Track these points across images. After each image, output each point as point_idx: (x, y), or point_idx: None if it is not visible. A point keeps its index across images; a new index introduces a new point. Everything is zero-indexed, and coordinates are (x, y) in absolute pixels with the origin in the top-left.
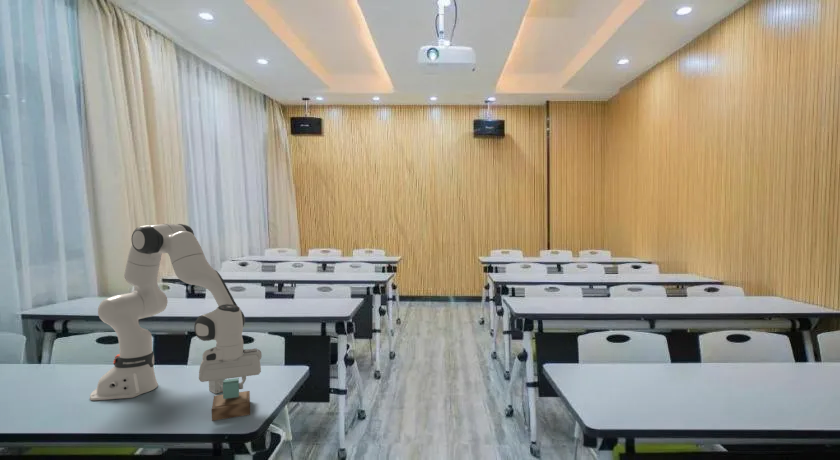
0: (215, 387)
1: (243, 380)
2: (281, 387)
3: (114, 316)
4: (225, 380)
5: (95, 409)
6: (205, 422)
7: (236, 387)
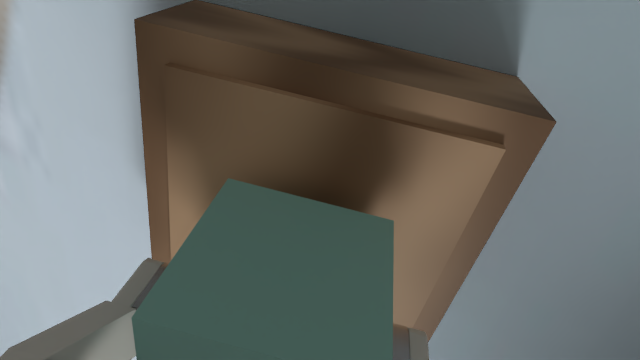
0: None
1: (62, 345)
2: (26, 297)
3: None
4: None
5: None
6: (579, 76)
7: (201, 267)
